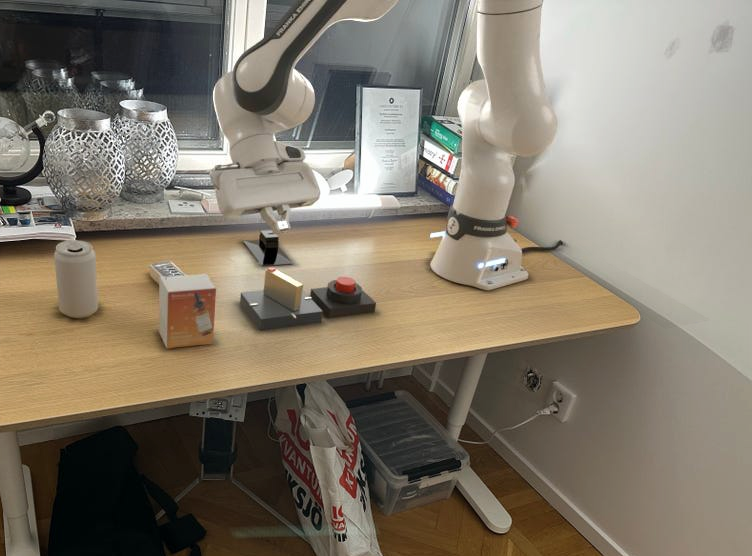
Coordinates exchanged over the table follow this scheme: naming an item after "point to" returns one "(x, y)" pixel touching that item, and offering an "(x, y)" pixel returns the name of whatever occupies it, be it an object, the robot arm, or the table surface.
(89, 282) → the beverage can
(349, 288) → the button
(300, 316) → the dial panel
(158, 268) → the multiport hub
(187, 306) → the small box
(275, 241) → the build plate
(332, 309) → the button box
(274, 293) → the pointer
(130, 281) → the table surface
